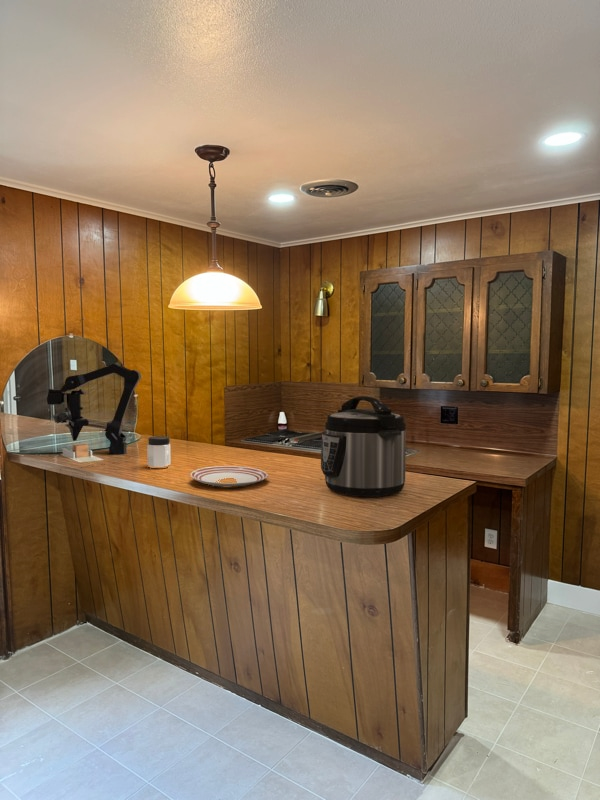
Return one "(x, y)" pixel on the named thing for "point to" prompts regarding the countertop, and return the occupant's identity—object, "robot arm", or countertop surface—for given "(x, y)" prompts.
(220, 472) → the dinner plate
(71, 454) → the channel
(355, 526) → the countertop surface
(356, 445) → the pressure cooker
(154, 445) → the jar
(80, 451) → the block
